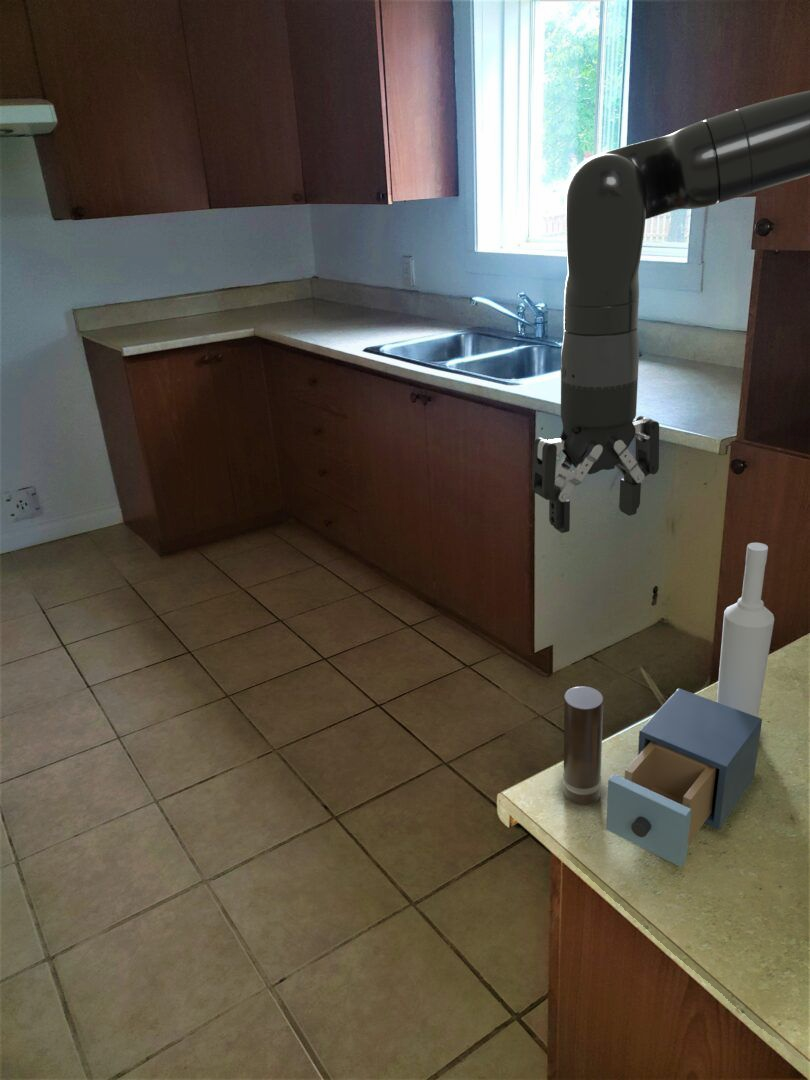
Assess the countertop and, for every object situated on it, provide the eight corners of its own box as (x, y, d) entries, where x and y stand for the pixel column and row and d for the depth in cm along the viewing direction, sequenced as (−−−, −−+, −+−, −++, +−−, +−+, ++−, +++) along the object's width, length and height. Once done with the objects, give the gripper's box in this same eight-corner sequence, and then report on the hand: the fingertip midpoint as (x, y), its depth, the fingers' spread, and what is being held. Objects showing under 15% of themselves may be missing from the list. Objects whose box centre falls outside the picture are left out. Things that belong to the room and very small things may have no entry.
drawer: (675, 875, 79) (680, 823, 76) (599, 836, 84) (601, 786, 81) (716, 817, 85) (722, 767, 82) (644, 784, 90) (647, 735, 87)
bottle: (708, 741, 97) (729, 554, 86) (714, 716, 101) (734, 533, 90) (755, 752, 95) (782, 560, 84) (759, 725, 99) (785, 539, 88)
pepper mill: (586, 775, 93) (589, 681, 88) (607, 798, 90) (611, 702, 84) (555, 787, 92) (556, 692, 86) (576, 810, 88) (578, 714, 83)
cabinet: (719, 830, 84) (726, 767, 81) (635, 791, 90) (639, 730, 87) (753, 779, 91) (762, 718, 87) (673, 746, 96) (678, 687, 93)
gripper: (558, 394, 76) (557, 549, 83) (682, 369, 81) (671, 519, 88) (517, 378, 82) (520, 523, 89) (635, 355, 87) (628, 496, 94)
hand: (595, 521), depth 88 cm, fingers open, 8 cm apart
